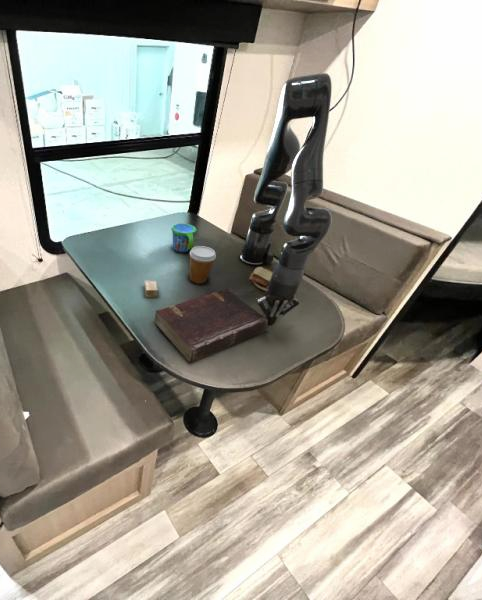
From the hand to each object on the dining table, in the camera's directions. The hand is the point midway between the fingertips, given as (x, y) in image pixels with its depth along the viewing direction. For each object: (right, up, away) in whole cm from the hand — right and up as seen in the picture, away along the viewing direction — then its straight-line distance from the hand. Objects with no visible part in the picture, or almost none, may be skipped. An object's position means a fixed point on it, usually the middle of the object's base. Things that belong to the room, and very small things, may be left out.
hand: (268, 323), depth 99 cm
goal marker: (-36, +10, +14) cm, 40 cm away
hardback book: (-19, -1, 0) cm, 19 cm away
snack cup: (-21, +31, +43) cm, 56 cm away
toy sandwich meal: (+9, +13, +21) cm, 27 cm away
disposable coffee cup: (-17, +16, +23) cm, 33 cm away
